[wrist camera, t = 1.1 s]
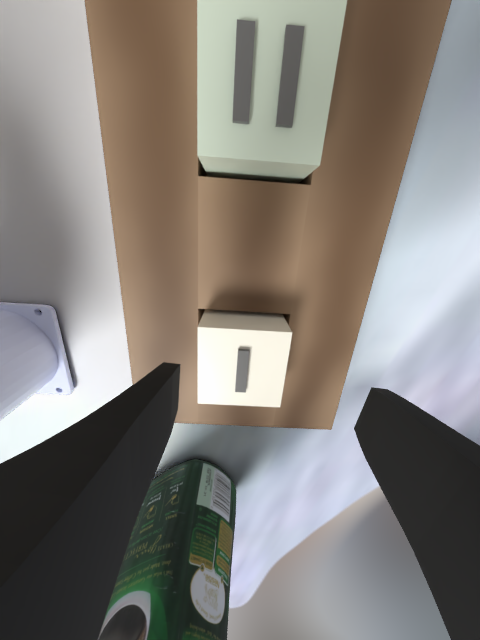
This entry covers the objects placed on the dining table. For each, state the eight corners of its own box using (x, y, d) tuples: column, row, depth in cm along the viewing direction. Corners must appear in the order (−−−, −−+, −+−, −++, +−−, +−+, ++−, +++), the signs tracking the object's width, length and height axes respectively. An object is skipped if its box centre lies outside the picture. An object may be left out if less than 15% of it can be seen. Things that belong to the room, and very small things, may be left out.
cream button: (205, 370, 16) (196, 406, 13) (206, 306, 14) (196, 328, 11) (272, 374, 16) (280, 409, 13) (280, 311, 15) (293, 334, 11)
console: (156, 385, 20) (137, 421, 16) (124, -16, 11) (66, -142, 7) (314, 393, 20) (331, 429, 16) (400, 13, 12) (477, -92, 8)
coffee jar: (183, 519, 27) (82, 1049, 9) (134, 484, 24) (-121, 1101, 7) (249, 486, 25) (277, 1083, 7) (202, 444, 22) (81, 1171, 5)
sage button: (207, 175, 12) (196, 153, 9) (209, 51, 10) (195, -37, 7) (298, 183, 12) (321, 164, 9) (315, 61, 10) (352, -20, 7)
